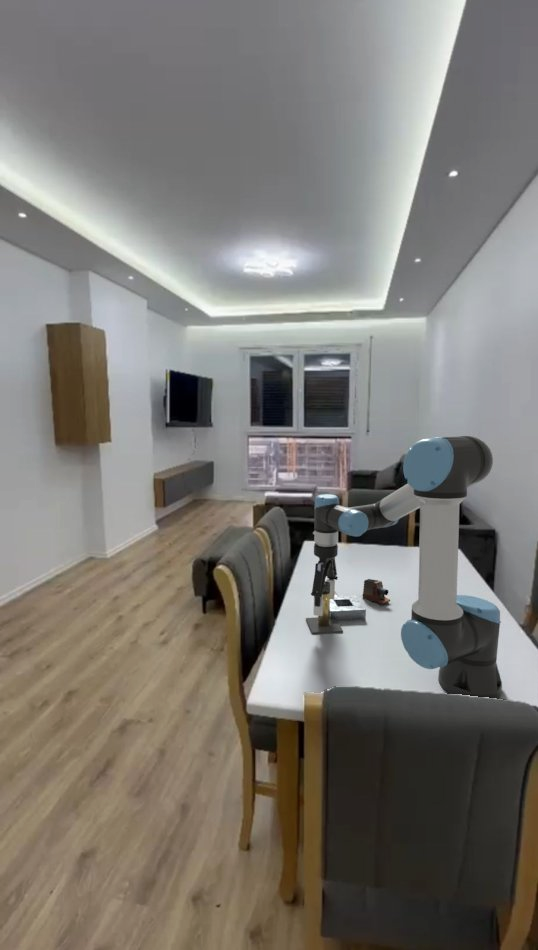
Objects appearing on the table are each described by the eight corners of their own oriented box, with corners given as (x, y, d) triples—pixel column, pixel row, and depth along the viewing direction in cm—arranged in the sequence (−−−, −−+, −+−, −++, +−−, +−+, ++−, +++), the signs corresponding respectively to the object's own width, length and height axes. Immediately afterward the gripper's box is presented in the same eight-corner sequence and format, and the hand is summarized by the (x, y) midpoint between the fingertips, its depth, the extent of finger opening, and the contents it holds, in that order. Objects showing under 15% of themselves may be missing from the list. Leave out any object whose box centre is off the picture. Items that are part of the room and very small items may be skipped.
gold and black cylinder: (330, 622, 156) (331, 582, 154) (327, 627, 153) (328, 586, 150) (319, 620, 157) (320, 580, 155) (316, 625, 154) (317, 584, 152)
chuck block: (365, 619, 160) (365, 609, 159) (330, 621, 158) (330, 611, 158) (348, 595, 179) (348, 586, 179) (317, 596, 178) (317, 587, 177)
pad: (342, 632, 151) (343, 630, 150) (312, 634, 149) (312, 632, 149) (334, 618, 160) (335, 616, 160) (305, 619, 159) (305, 617, 159)
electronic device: (383, 606, 170) (384, 586, 168) (361, 598, 177) (362, 579, 176) (390, 603, 173) (391, 583, 171) (368, 595, 180) (369, 576, 178)
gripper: (325, 531, 163) (324, 590, 167) (301, 553, 141) (300, 620, 144) (347, 534, 160) (345, 594, 164) (326, 556, 138) (324, 625, 141)
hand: (324, 606), depth 154 cm, fingers open, 13 cm apart
